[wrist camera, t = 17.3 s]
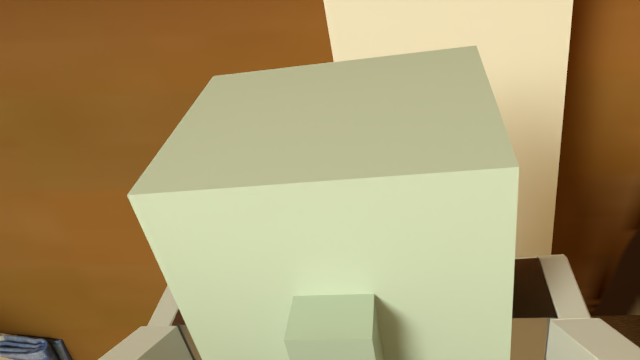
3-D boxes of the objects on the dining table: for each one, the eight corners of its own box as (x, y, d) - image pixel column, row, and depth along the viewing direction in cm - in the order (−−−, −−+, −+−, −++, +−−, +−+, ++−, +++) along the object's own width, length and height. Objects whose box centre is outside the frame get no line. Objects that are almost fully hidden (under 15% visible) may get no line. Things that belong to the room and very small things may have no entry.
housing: (391, 347, 40) (390, 394, 37) (330, -48, 25) (318, -28, 22) (527, 346, 38) (538, 396, 35) (554, -85, 23) (579, -69, 19)
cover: (299, 364, 15) (265, 554, 11) (213, 76, 10) (99, 233, 6) (478, 364, 14) (509, 572, 10) (476, 44, 9) (533, 209, 5)
